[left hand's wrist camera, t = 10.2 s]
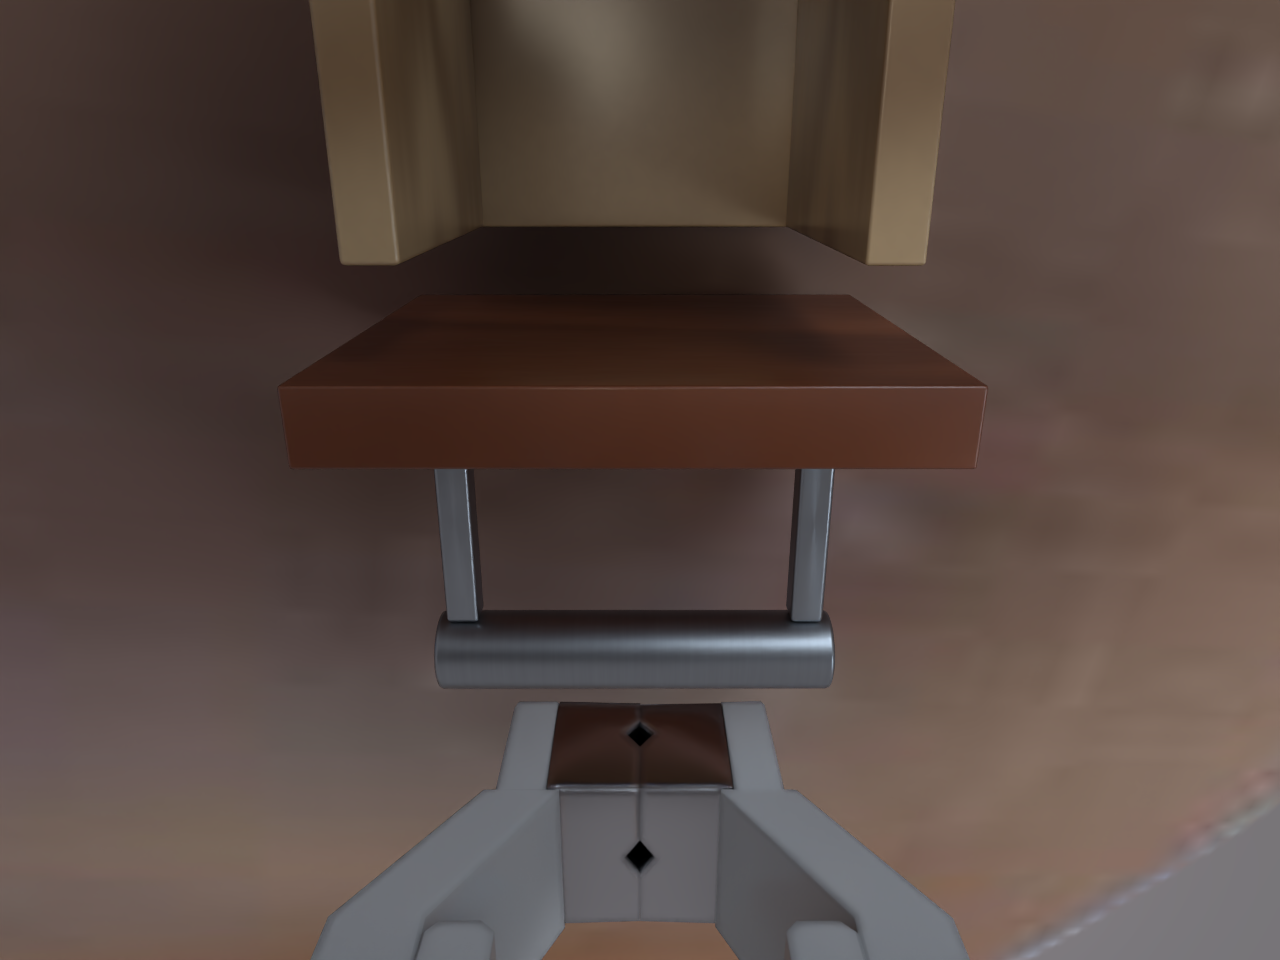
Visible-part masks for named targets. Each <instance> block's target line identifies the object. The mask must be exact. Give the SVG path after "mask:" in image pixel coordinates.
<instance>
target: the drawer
mask: <svg viewBox="0 0 1280 960" xmlns="http://www.w3.org/2000/svg"><path fill="white" fill-rule="evenodd" d="M309 7H310V15H311V23H312V32H313V40H314V48H315V57H316V65H317V74H318V82H319V90H320V99H321V107H322V116H323V124H324V132H325V141H326V149H327V157H328V166H329V174H330V183H331V191H332V199H333V208H334V216H335V225H336V233H337V241H338V250H339V258H340V262H341V264H343V265H346V266H396V265H398V264H400V263H402V262H405V261H407V260H409V259H411V258H413V257H416V256H418V255H420V254H422V253H425V252H427V251H429V250H431V249H433V248H436V247H438V246H440V245H442V244H444V243H447V242H449V241H451V240H453V239H456V238H458V237H460V236H462V235H464V234H467V233H469V232H471V231H473V230H475V229H478V228H480V227H789V228H791V229H793V230H795V231H797V232H799V233H801V234H803V235H805V236H807V237H810V238H812V239H814V240H816V241H818V242H820V243H822V244H824V245H826V246H828V247H830V248H833V249H835V250H837V251H839V252H841V253H843V254H845V255H847V256H849V257H851V258H853V259H855V260H858V261H860V262H862V263H864V264H866V265H868V266H922V265H924V264H925V262H926V255H927V247H928V238H929V229H930V220H931V211H932V203H933V194H934V185H935V176H936V167H937V159H938V150H939V141H940V132H941V123H942V114H943V106H944V97H945V88H946V79H947V70H948V62H949V53H950V44H951V35H952V26H953V18H954V9H955V0H309ZM987 392H988V387H987V385H985V384H984V383H982V382H981V381H979V380H978V379H976V378H974V377H973V376H971V375H970V374H968V373H967V372H965V371H964V370H962V369H961V368H959V367H958V366H956V365H955V364H953V363H952V362H950V361H949V360H947V359H946V358H944V357H943V356H941V355H940V354H938V353H937V352H935V351H934V350H932V349H931V348H929V347H928V346H926V345H925V344H923V343H922V342H920V341H919V340H917V339H915V338H914V337H912V336H911V335H909V334H908V333H906V332H905V331H903V330H902V329H900V328H899V327H897V326H896V325H894V324H893V323H891V322H890V321H888V320H887V319H885V318H884V317H882V316H881V315H879V314H878V313H876V312H875V311H873V310H872V309H870V308H869V307H867V306H866V305H864V304H863V303H861V302H860V301H858V300H856V299H855V298H853V297H852V296H850V295H420V296H419V297H417V298H415V299H414V300H412V301H411V302H409V303H408V304H406V305H404V306H403V307H401V308H400V309H398V310H397V311H395V312H394V313H392V314H390V315H389V316H387V317H386V318H384V319H383V320H381V321H379V322H378V323H376V324H375V325H373V326H372V327H370V328H368V329H367V330H365V331H364V332H362V333H361V334H359V335H358V336H356V337H354V338H353V339H351V340H350V341H348V342H347V343H345V344H343V345H342V346H340V347H339V348H337V349H336V350H334V351H332V352H331V353H329V354H328V355H326V356H325V357H323V358H322V359H320V360H318V361H317V362H315V363H314V364H312V365H311V366H309V367H307V368H306V369H304V370H303V371H301V372H300V373H298V374H296V375H295V376H293V377H292V378H290V379H289V380H287V381H286V382H284V383H282V384H281V385H279V386H278V396H279V403H280V409H281V416H282V422H283V429H284V436H285V442H286V449H287V455H288V462H289V467H290V469H434V476H435V487H436V499H437V510H438V521H439V532H440V543H441V555H442V566H443V577H444V588H445V599H446V611H444V612H443V613H442V615H441V617H440V619H439V622H438V626H437V631H436V637H435V649H434V663H435V673H436V678H437V681H438V684H439V686H440V687H442V688H444V689H592V688H827V687H829V686H830V685H831V682H832V679H833V675H834V667H835V644H834V635H833V628H832V624H831V621H830V618H829V615H828V613H827V612H826V611H823V602H824V590H825V578H826V566H827V555H828V543H829V531H830V519H831V507H832V495H833V483H834V472H835V469H975V468H976V467H977V461H978V454H979V447H980V440H981V434H982V427H983V420H984V413H985V406H986V399H987ZM474 469H795V483H794V497H793V512H792V527H791V542H790V557H789V572H788V587H787V602H786V607H787V610H482V608H483V594H482V580H481V566H480V552H479V539H478V525H477V511H476V497H475V483H474Z"/></svg>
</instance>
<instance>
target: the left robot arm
mask: <svg viewBox="0 0 1280 960" xmlns="http://www.w3.org/2000/svg"><path fill="white" fill-rule="evenodd" d="M619 921H659V922H695V923H715V927H716V928H717V930H718V931H719V932H720V934H721V935H722V937H723V938H724V939H725V941H726V942H727V943H728V945H729V946H730V948H731V949H732V950H733V952H734V953H735V954H736V956H737V957H738V959H739V960H970V959H969V956H968V954H967V952H966V949H965V947H964V944H963V942H962V939H961V937H960V935H959V932H958V930H957V927H956V925H955V922H954V920H953V918H952V917H951V916H950V915H948V914H947V913H946V912H945V911H943V910H942V909H941V908H940V907H939V906H937V905H936V904H935V903H934V902H932V901H931V900H930V899H929V898H928V897H926V896H925V895H924V894H923V893H921V892H920V891H919V890H918V889H917V888H915V887H914V886H913V885H912V884H911V883H909V882H908V881H907V880H906V879H904V878H903V877H902V876H901V875H900V874H898V873H897V872H896V871H895V870H893V869H892V868H891V867H890V866H889V865H887V864H886V863H885V862H884V861H883V860H881V859H880V858H879V857H878V856H876V855H875V854H874V853H873V852H872V851H870V850H869V849H868V848H867V847H865V846H864V845H863V844H862V843H861V842H859V841H858V840H857V839H856V838H854V837H853V836H852V835H851V834H850V833H848V832H847V831H846V830H845V829H844V828H842V827H841V826H840V825H839V824H837V823H836V822H835V821H834V820H833V819H831V818H830V817H829V816H828V815H826V814H825V813H824V812H823V811H822V810H820V809H819V808H818V807H817V806H816V805H814V804H813V803H812V802H811V801H809V800H808V799H807V798H806V797H805V796H803V795H802V794H801V793H800V792H798V791H797V790H784V786H783V782H782V778H781V774H780V769H779V765H778V761H777V756H776V752H775V748H774V743H773V739H772V735H771V731H770V726H769V722H768V718H767V713H766V709H765V705H764V704H763V703H762V702H761V701H748V702H721V703H709V704H641V705H640V703H594V702H560V704H559V703H558V702H519V703H518V704H517V705H516V707H515V708H514V712H513V717H512V721H511V725H510V730H509V734H508V738H507V743H506V747H505V752H504V756H503V760H502V765H501V769H500V773H499V778H498V782H497V786H496V790H483V791H482V792H480V793H479V794H478V795H477V796H475V797H474V798H473V799H472V800H471V801H469V802H468V803H467V804H466V805H464V806H463V807H462V808H461V809H460V810H458V811H457V812H456V813H455V814H453V815H452V816H451V817H450V818H449V819H447V820H446V821H445V822H444V823H442V824H441V825H440V826H439V827H438V828H436V829H435V830H434V831H433V832H431V833H430V834H429V835H428V836H427V837H425V838H424V839H423V840H422V841H420V842H419V843H418V844H417V845H415V846H414V847H413V848H412V849H411V850H409V851H408V852H407V853H406V854H404V855H403V856H402V857H401V858H400V859H398V860H397V861H396V862H395V863H393V864H392V865H391V866H390V867H389V868H387V869H386V870H385V871H384V872H382V873H381V874H380V875H379V876H378V877H376V878H375V879H374V880H373V881H371V882H370V883H369V884H368V885H367V886H365V887H364V888H363V889H362V890H360V891H359V892H358V893H357V894H355V895H354V896H353V897H352V898H351V899H349V900H348V901H347V902H346V903H344V904H343V905H342V906H341V907H340V908H338V909H337V910H336V911H335V912H333V913H332V914H331V915H330V916H329V917H328V919H327V921H326V923H325V926H324V928H323V931H322V933H321V935H320V938H319V940H318V943H317V945H316V947H315V950H314V952H313V955H312V957H311V959H310V960H541V959H542V958H543V957H544V955H545V954H546V953H547V951H548V950H549V948H550V947H551V946H552V944H553V943H554V942H555V940H556V939H557V938H558V936H559V935H560V933H561V932H562V931H563V929H564V928H565V923H585V922H619Z"/></svg>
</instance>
